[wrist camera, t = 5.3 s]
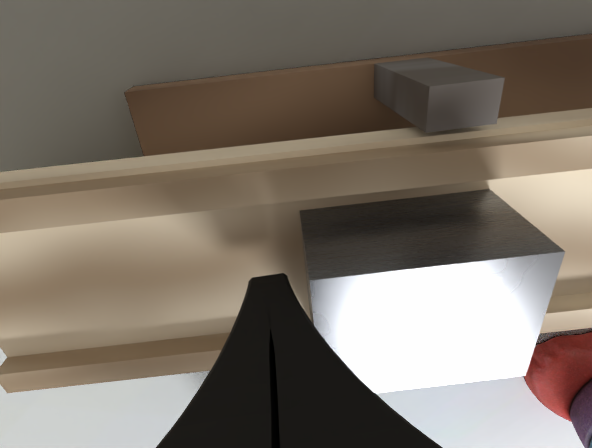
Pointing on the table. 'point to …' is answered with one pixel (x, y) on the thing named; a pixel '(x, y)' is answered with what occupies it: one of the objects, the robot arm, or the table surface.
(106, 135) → the table surface
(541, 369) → the stacking bear
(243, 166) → the balance beam
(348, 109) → the beam stand
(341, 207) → the block
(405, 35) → the table surface
